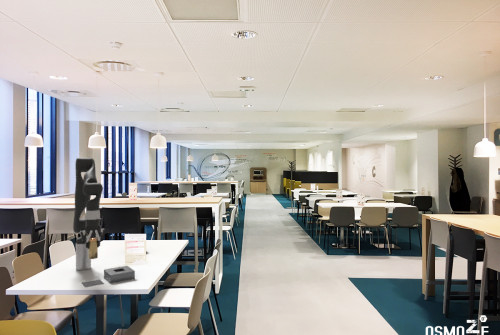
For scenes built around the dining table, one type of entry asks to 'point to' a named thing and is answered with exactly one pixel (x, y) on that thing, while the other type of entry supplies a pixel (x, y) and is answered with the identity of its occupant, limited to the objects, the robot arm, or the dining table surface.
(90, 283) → the mat
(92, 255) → the brass cylinder
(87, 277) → the dining table surface
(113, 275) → the housing
